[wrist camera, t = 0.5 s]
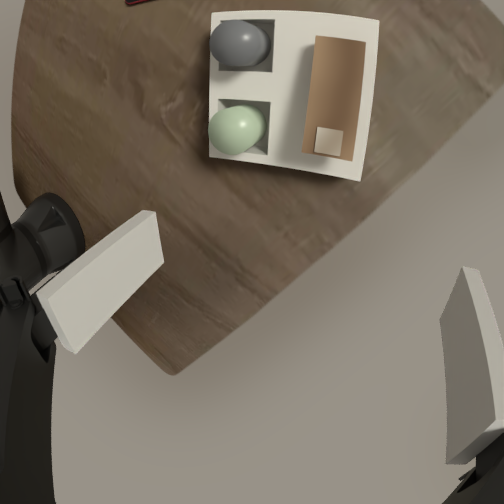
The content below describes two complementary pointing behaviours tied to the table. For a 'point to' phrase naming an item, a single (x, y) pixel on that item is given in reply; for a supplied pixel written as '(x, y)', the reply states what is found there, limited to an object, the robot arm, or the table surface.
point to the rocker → (334, 97)
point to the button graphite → (239, 43)
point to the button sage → (236, 128)
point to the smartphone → (134, 1)
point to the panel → (291, 86)
